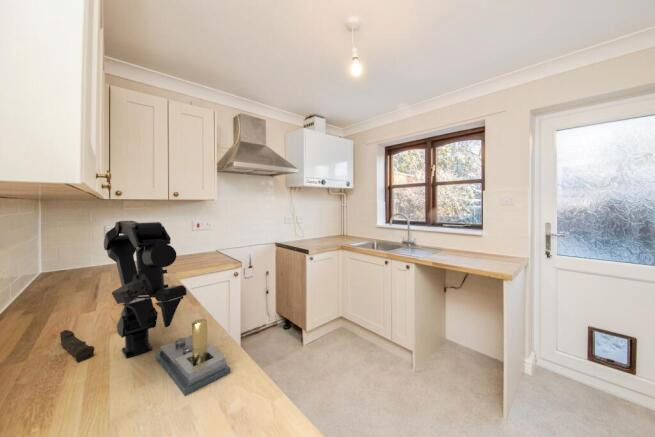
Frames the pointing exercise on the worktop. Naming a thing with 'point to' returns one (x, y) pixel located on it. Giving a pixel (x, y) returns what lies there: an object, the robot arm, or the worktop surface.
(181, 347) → the tiered gray console
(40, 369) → the worktop surface
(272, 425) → the worktop surface
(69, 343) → the hand tool
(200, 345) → the pin
